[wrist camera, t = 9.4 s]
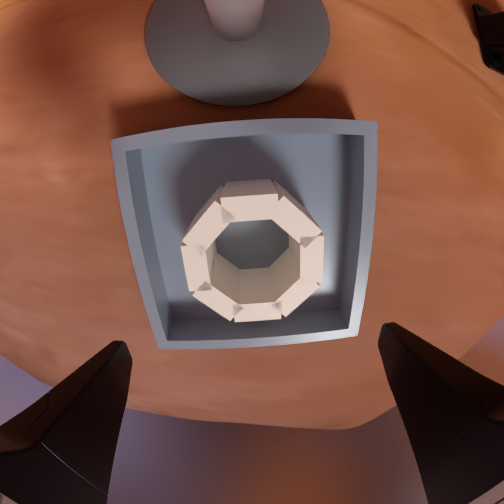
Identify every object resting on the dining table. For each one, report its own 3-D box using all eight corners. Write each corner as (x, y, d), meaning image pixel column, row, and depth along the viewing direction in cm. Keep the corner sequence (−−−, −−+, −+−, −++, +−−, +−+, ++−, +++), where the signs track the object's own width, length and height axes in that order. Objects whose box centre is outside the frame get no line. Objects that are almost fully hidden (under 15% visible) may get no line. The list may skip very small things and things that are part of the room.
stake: (316, -35, 10) (346, -90, 4) (333, 105, 15) (386, 94, 9) (149, -24, 10) (112, -73, 4) (151, 117, 15) (97, 114, 9)
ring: (307, 177, 16) (324, 191, 13) (305, 299, 20) (317, 336, 16) (189, 185, 16) (173, 202, 13) (207, 306, 20) (200, 344, 16)
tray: (356, 121, 15) (377, 121, 13) (345, 311, 21) (357, 335, 18) (130, 136, 15) (110, 139, 13) (167, 323, 21) (159, 348, 18)
